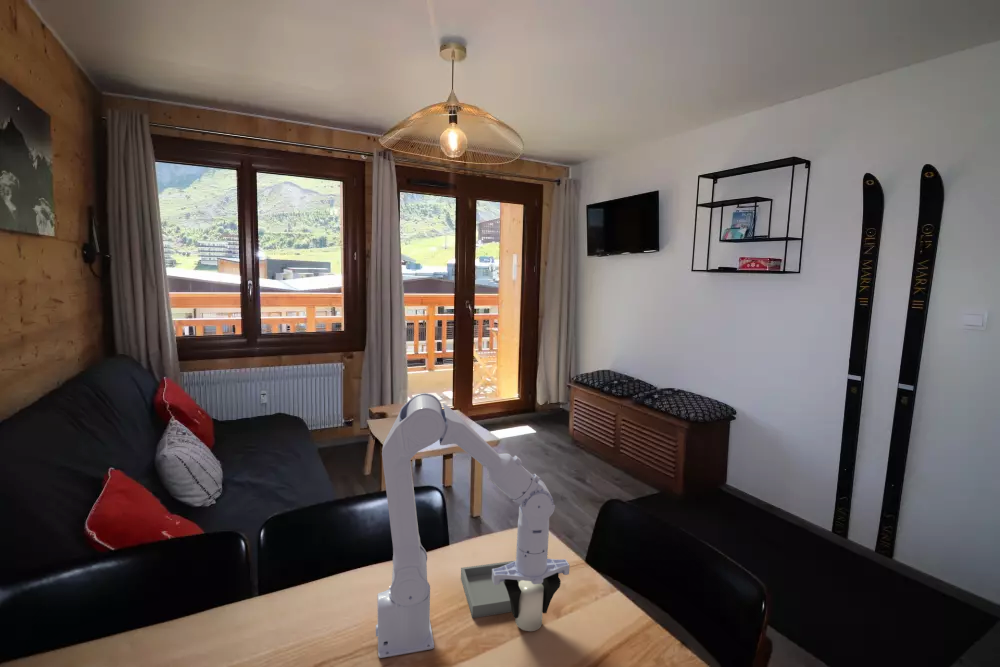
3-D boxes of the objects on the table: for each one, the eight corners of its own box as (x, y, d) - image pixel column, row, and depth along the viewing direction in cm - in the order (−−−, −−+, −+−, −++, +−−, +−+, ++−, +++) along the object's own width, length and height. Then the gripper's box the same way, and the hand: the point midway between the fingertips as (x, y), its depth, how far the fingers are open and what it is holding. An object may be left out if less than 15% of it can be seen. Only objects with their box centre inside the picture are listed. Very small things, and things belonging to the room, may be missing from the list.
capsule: (519, 633, 89) (521, 598, 88) (512, 614, 94) (513, 580, 93) (545, 628, 90) (547, 594, 89) (536, 610, 95) (538, 577, 94)
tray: (472, 618, 93) (472, 606, 93) (460, 578, 105) (461, 567, 104) (531, 608, 96) (532, 597, 96) (514, 571, 108) (514, 560, 107)
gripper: (499, 563, 84) (497, 634, 86) (577, 552, 88) (573, 621, 90) (489, 540, 91) (487, 606, 93) (562, 531, 94) (559, 595, 96)
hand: (529, 611), depth 92 cm, fingers closed on capsule, 5 cm apart
